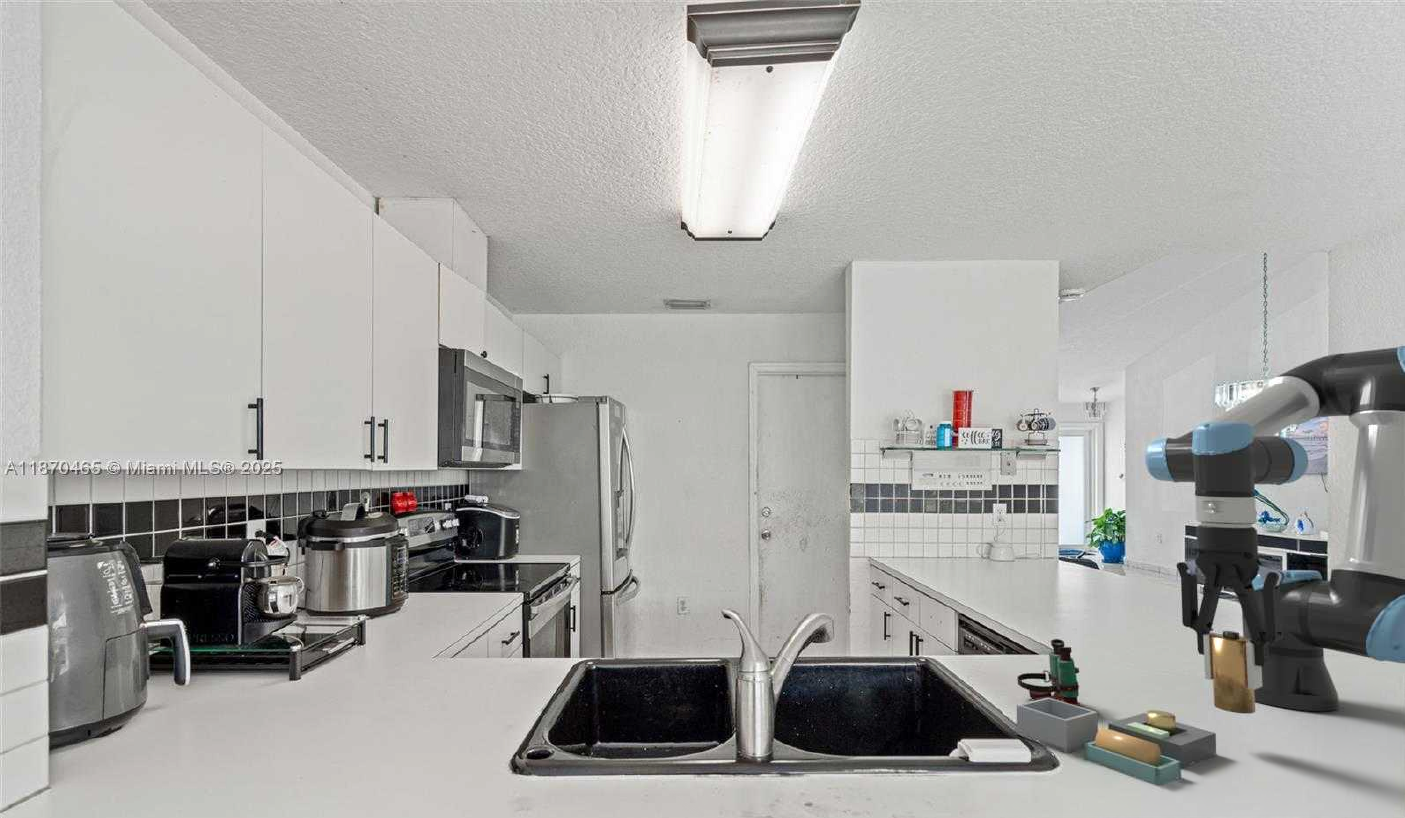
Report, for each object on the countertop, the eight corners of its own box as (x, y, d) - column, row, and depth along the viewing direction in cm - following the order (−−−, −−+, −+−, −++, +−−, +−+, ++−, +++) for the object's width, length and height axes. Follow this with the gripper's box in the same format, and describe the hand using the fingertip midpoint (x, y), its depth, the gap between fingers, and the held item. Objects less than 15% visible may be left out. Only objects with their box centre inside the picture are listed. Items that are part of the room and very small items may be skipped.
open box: (1048, 726, 118) (1048, 697, 118) (1098, 743, 111) (1097, 712, 111) (1016, 735, 114) (1016, 705, 114) (1066, 753, 107) (1066, 720, 107)
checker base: (1144, 732, 116) (1144, 708, 116) (1216, 754, 108) (1215, 728, 108) (1108, 744, 111) (1108, 719, 111) (1181, 768, 102) (1180, 740, 103)
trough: (1106, 751, 108) (1105, 722, 108) (1180, 776, 99) (1180, 745, 100) (1084, 758, 105) (1084, 728, 105) (1159, 785, 96) (1158, 752, 97)
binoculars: (1009, 639, 136) (1068, 637, 134) (1016, 698, 135) (1075, 697, 133) (1020, 650, 127) (1083, 648, 125) (1027, 714, 126) (1091, 713, 124)
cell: (1223, 700, 114) (1220, 627, 115) (1261, 709, 110) (1257, 633, 111) (1207, 706, 112) (1204, 631, 112) (1246, 715, 108) (1242, 637, 108)
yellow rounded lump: (1154, 725, 112) (1154, 708, 112) (1180, 733, 109) (1180, 715, 109) (1142, 729, 110) (1141, 712, 110) (1168, 737, 107) (1167, 719, 107)
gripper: (1150, 521, 118) (1156, 671, 117) (1286, 531, 103) (1295, 703, 102) (1174, 519, 122) (1181, 664, 121) (1308, 528, 107) (1317, 694, 106)
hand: (1233, 682), depth 111 cm, fingers closed on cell, 5 cm apart
